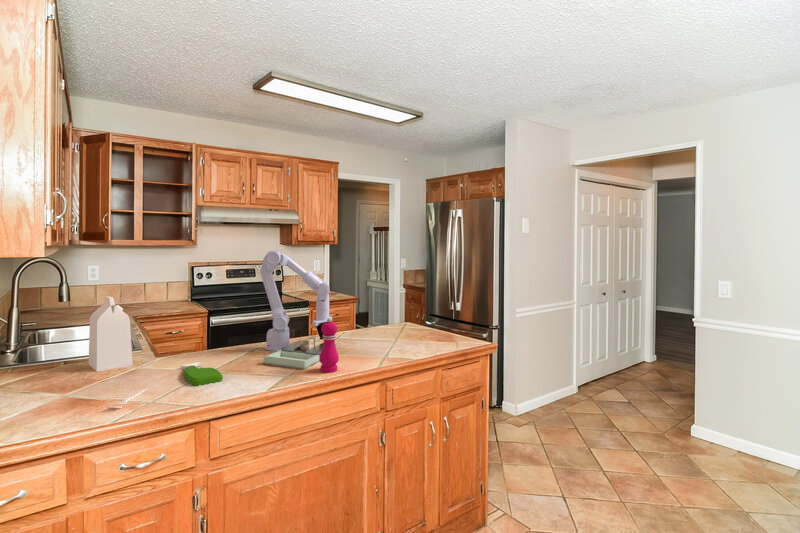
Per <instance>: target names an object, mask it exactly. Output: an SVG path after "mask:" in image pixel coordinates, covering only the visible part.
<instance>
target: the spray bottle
mask: <svg viewBox="0 0 800 533" xmlns="http://www.w3.org/2000/svg"><path fill="white" fill-rule="evenodd" d="M180 370H184V371H183V372H182V373H183V375H182V376H183V378H184V380H185V381H186V382H188V383H189V384H190V385H192V386H193V385H194V387H200V386H199V385H201V386H205V384H206V385H211V384H210V383H212V384H215V383H216V382H217V383H220V382H222V381H223V380H224V376H223V374H222V373H221V372H220V371H219V370H218V369H217V368H215V367H204V366H203V365H202V362H200V361H198V362H192V363H186V364H182V365H180Z"/></svg>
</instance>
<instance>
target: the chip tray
mask: <svg viewBox="0 0 800 533" xmlns="http://www.w3.org/2000/svg"><path fill="white" fill-rule="evenodd" d="M317 363H320V361H319V355H313V354H304V353H296V352H288V351H281V350H280V351H274V352H272V353H270V354H268V355H264V356H263V364H264V365H270V366H277V367H285V368H290V369H300V370H306V369H308V368H309V367H312V366H313V365H315V364H317Z"/></svg>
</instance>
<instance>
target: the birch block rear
mask: <svg viewBox="0 0 800 533" xmlns="http://www.w3.org/2000/svg"><path fill="white" fill-rule="evenodd" d="M306 338H311V339H314V347H315V346H317V345H319V344H321V339H320V336H319V335H310V336H307V337H306Z"/></svg>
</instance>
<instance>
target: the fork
mask: <svg viewBox="0 0 800 533" xmlns="http://www.w3.org/2000/svg"><path fill="white" fill-rule="evenodd" d="M147 389H148V387H146V388H144V389H143V390H141V391H138V392H136V393H135V394H133V395H131V396H129V397H126V398H125V399H123V400H121V401H119V402H118V403H117V404H127V405H128V402H130V401H132V400H134V399H135V398H137V397H138V396H140V395H142V394H143V393H144V391H145V390H146V391H148V390H149V389H148V390H147ZM146 391H145V392H146ZM142 392H143V393H142ZM139 394H140V395H139ZM136 396H137V397H136ZM134 397H135V398H134ZM131 399H132V400H131ZM106 407H107V408H110V409H123V408H122V406H121V407H119V406H118V407H117V406H115V405H113V406H111V405H109V406H108V405H106Z"/></svg>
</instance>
